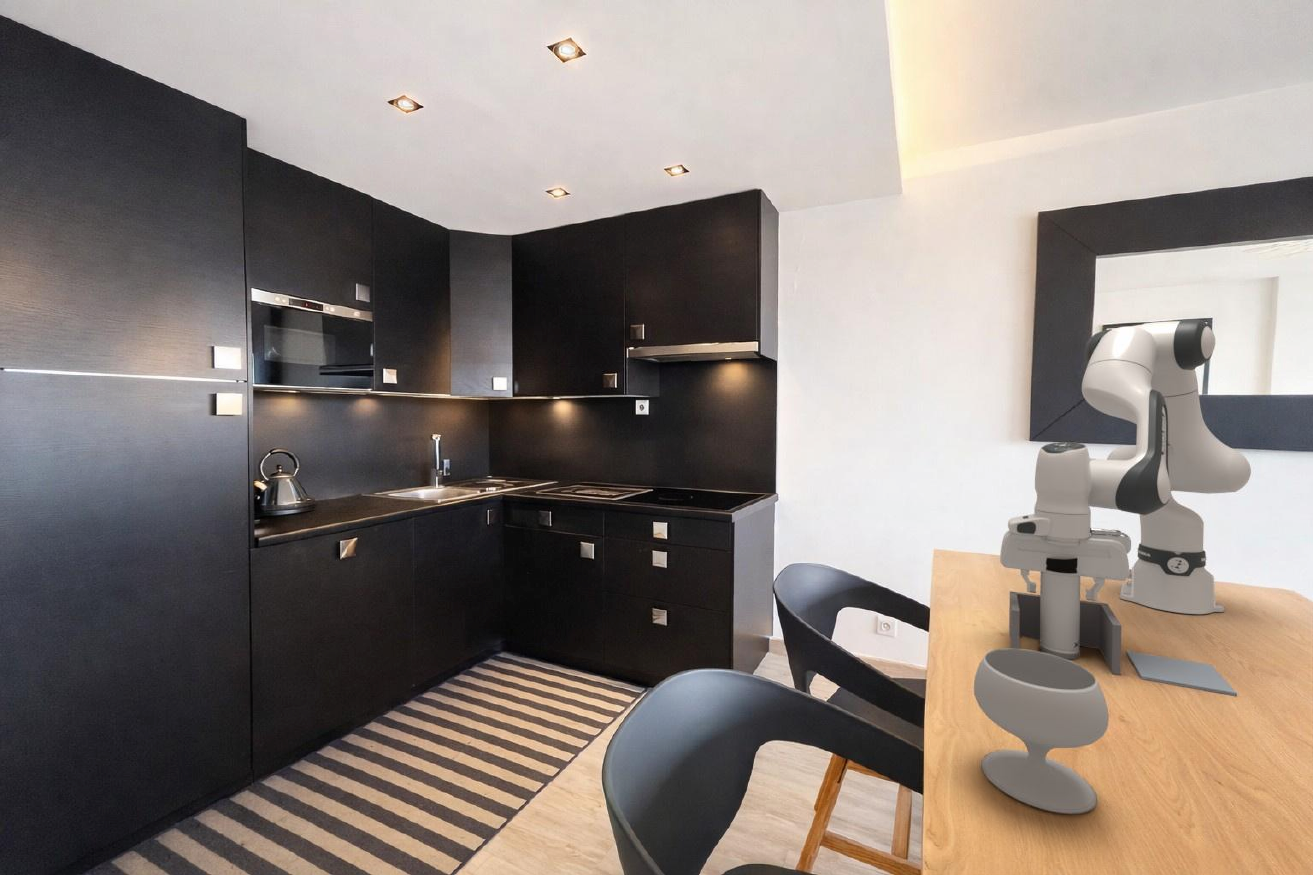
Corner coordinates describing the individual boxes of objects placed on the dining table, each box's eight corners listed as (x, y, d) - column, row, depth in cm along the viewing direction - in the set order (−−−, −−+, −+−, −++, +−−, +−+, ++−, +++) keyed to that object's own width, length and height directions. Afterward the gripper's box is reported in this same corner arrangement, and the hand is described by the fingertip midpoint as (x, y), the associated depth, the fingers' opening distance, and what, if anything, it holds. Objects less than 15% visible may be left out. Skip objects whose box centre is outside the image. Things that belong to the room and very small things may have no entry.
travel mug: (1088, 661, 103) (1089, 557, 102) (1049, 658, 104) (1050, 555, 104) (1070, 647, 109) (1071, 549, 108) (1033, 645, 110) (1034, 548, 110)
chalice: (949, 765, 73) (949, 655, 72) (1016, 739, 79) (1017, 637, 78) (1062, 838, 60) (1064, 705, 60) (1132, 800, 66) (1134, 679, 65)
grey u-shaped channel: (1009, 632, 117) (1009, 591, 117) (1106, 648, 109) (1107, 603, 108) (1011, 655, 106) (1012, 610, 105) (1120, 675, 97) (1121, 625, 97)
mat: (1126, 653, 106) (1126, 650, 106) (1211, 667, 100) (1211, 664, 100) (1141, 678, 96) (1141, 676, 96) (1236, 696, 90) (1236, 693, 90)
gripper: (1127, 528, 103) (1126, 599, 103) (1000, 518, 114) (999, 583, 114) (1135, 534, 98) (1133, 609, 98) (1001, 523, 108) (1000, 591, 109)
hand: (1060, 595), depth 106 cm, fingers open, 8 cm apart
